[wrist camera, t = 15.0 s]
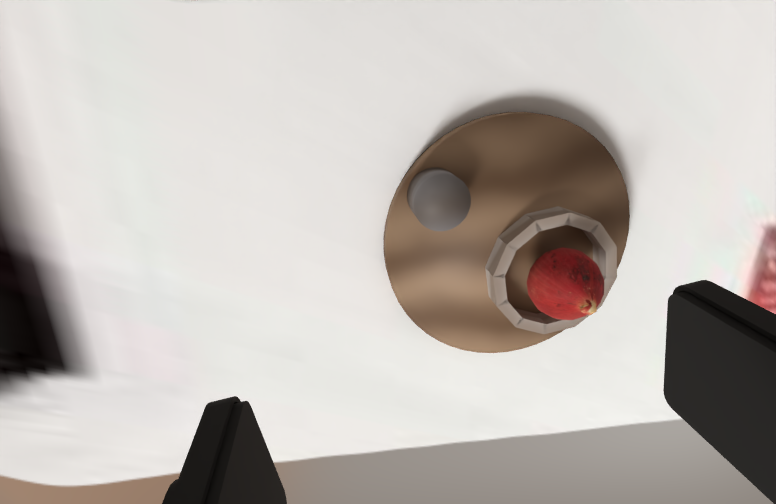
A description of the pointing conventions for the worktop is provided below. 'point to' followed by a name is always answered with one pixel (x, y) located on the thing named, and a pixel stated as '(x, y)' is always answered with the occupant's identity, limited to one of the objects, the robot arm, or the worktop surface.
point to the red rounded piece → (565, 284)
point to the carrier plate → (500, 226)
